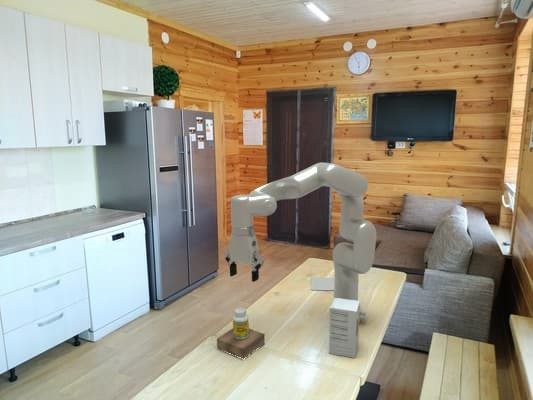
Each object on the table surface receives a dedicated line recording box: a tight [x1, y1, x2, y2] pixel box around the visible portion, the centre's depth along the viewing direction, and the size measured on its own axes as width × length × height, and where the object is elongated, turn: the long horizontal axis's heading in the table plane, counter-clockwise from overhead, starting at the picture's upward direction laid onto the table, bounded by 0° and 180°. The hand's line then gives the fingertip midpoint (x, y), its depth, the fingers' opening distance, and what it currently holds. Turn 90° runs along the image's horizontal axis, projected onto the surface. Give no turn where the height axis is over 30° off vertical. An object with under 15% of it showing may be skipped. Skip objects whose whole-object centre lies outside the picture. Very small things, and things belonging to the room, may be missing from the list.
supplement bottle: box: [232, 307, 250, 339], centre depth 136 cm, size 6×6×10 cm
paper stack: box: [310, 276, 335, 291], centre depth 189 cm, size 23×25×1 cm
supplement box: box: [328, 297, 361, 359], centre depth 133 cm, size 10×9×17 cm
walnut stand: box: [216, 328, 266, 359], centre depth 137 cm, size 12×12×4 cm
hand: (244, 277), depth 136 cm, fingers open, 9 cm apart
